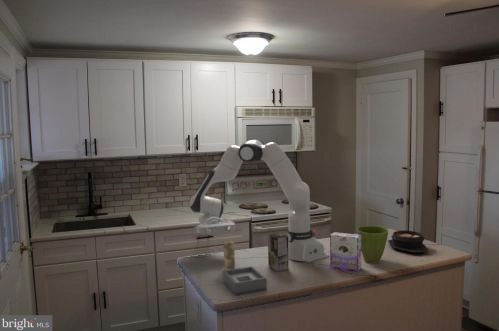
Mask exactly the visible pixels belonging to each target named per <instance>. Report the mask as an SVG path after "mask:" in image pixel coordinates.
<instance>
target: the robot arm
mask: <svg viewBox="0 0 499 331" xmlns="http://www.w3.org/2000/svg"><path fill="white" fill-rule="evenodd" d="M259 161H263V162H265V164H266V165H267V167H268V168H269V170H270V171H271V173H272V174H273V176H274V178H275V179H276V181H277V182H278V185H279V186H280V188H281V190H282V192H283V193H284V195H285V198H286V199H287V200H288V217H287V218H288V229H287V236H288V260H291V261H296V262H297V261H300V262H305V263H309V262H313V261H318V260H320V259H321V260H322V259H324V258H328V257H329V258H330V253H328V252H327V251H326V250H325V248H324V244H323V243H322V242H321V241H320V240H318V239H317V238H316V237H315V236H317V234H318V232H317V231H316V230H312V229H311V212H310V210H311V189H310V186H309V185H308V184H307V183H306V182H304V181H303V180H302V178H301V176H300V174H299V173H298V171H297V169H296V167H295V166H294V165H293V163H292V161H291V160H290V158H289V156H288V155H287V154H286V153H285V151H284V150H283V148H281V147H280V146H279V145H278V143H276V142H273V141H271V142H267V143H264V142H263V141H262V140H260V139H255V138H254V139H250V140H247V141H245V142H244V143H242V144H241V145H240V146H239V145H235V144H230V145H229V146H228V147H227V148H226V150H225V151H224V153H223V155H222V157H221V159H220V161H219V162H218V165H217V166H216V167H215V168H211V169H210V170H209V171H208V172H207V174H206V175H205V177H204V178H203V180H202V182H201V183H200V184H199V187H198V188H197V190H196V191H195V193H194V194H193V195H192V197H191V198H190V200H189V205H188V206H189V208H190V210H191V211H192V212H193V213H198V214H200V215H199V216H198V223H199V224H196V226H194V227H193V228H194V229H195V230H196V233H197V234H198V235H205V234H209V235H215V234H218V233H224V232H226V233H231V232H235V231H236V229H237V227H236V223H235V222H234V221H232V220H230V219H229V218H228V217H222V215H223V214H224V213H223V212H224V204H223V200H222V199H220V198H216V197H212V196H208V195H206V194H207V192H208V191H209V189H210V187H211V186H212V185H213V184H216V183H220V182H229V181H232V180H233V179H235V178H236V177H237V175H238V174H239V171H240V169H241V167H242V165H243V162H244V163H247V164H250V163H251V164H252V163H255V162H259Z"/></svg>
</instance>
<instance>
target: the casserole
mask: <svg viewBox="0 0 499 331" xmlns="http://www.w3.org/2000/svg"><path fill="white" fill-rule="evenodd" d="M424 241H425V237H424V235H423V234H422V233H421V232H418V231H414V230H396V231H394V232H393V234H392V235H391V239H387V243H389V246H390V247H392V248H393V249H397V250H399V251H402V252H409V253H413V254H415V253H427V252H428V251H430V249H429V248H428V247H427V246H426V245H425V244H424Z"/></svg>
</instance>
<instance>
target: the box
mask: <svg viewBox="0 0 499 331" xmlns="http://www.w3.org/2000/svg"><path fill="white" fill-rule="evenodd" d="M222 275H223V276H222V278H223V279H222V280H223V283H224V284H225V285H226V287H227V288H228V289H229V290H230V291H231V292H232V293H233V294H234V295H235V296H239V295H245V294H246V295H247V294H250V293H256V292H260V291H261V292H262V291H267V290H268V287H267V283H268V282H267V277H266V276H265V275H263V274H262V273H261V272H260V271H259V270H257V269H256V268H255V267H254V266H246V267H240V268H239V267H238V268H235V269H232V270H226V271H225V270H222Z"/></svg>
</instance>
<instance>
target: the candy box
mask: <svg viewBox="0 0 499 331" xmlns="http://www.w3.org/2000/svg"><path fill="white" fill-rule="evenodd" d="M329 239H330V240H329V251H330V252H329V258H330V259H329V260H330V266H329V267H330V268H332V269H338V270H344V271H345V270H346V271H352V272H359V271H360V270H361V269H362V251H361V235H358V234H354V233H353V234H352V233H345V232H338V231H337V232H335V231H334V232H332V233H331V234H330V235H329Z"/></svg>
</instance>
